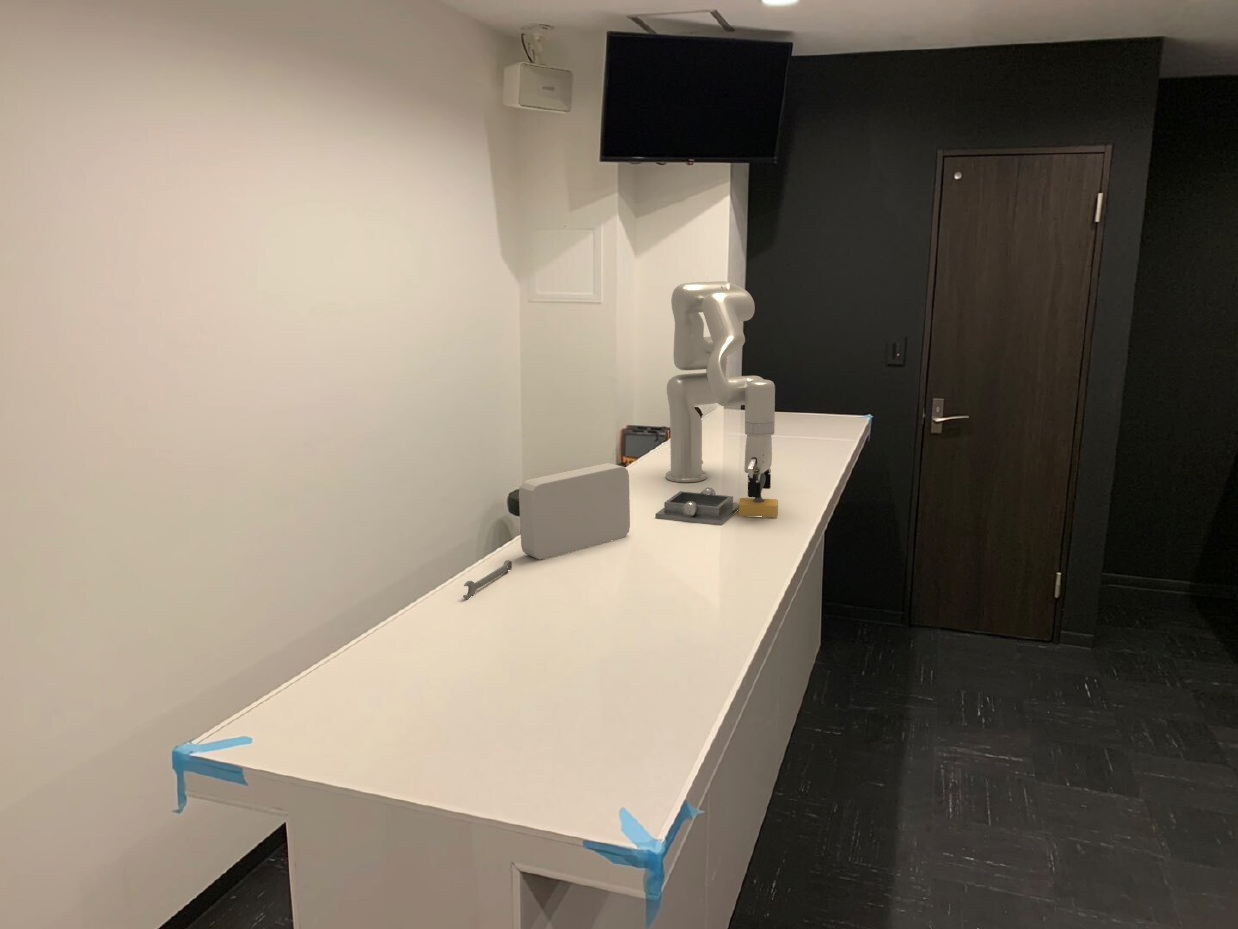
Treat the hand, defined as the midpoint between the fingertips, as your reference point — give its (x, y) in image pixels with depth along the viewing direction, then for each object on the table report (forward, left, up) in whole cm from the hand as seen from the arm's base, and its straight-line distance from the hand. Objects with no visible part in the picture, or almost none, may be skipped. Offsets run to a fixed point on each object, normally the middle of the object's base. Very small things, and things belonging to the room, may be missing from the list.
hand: (759, 492), depth 245 cm
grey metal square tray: (+4, -15, -6) cm, 17 cm away
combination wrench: (+70, -40, -7) cm, 80 cm away
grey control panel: (+40, -33, -6) cm, 52 cm away
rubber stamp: (0, 0, -6) cm, 6 cm away
